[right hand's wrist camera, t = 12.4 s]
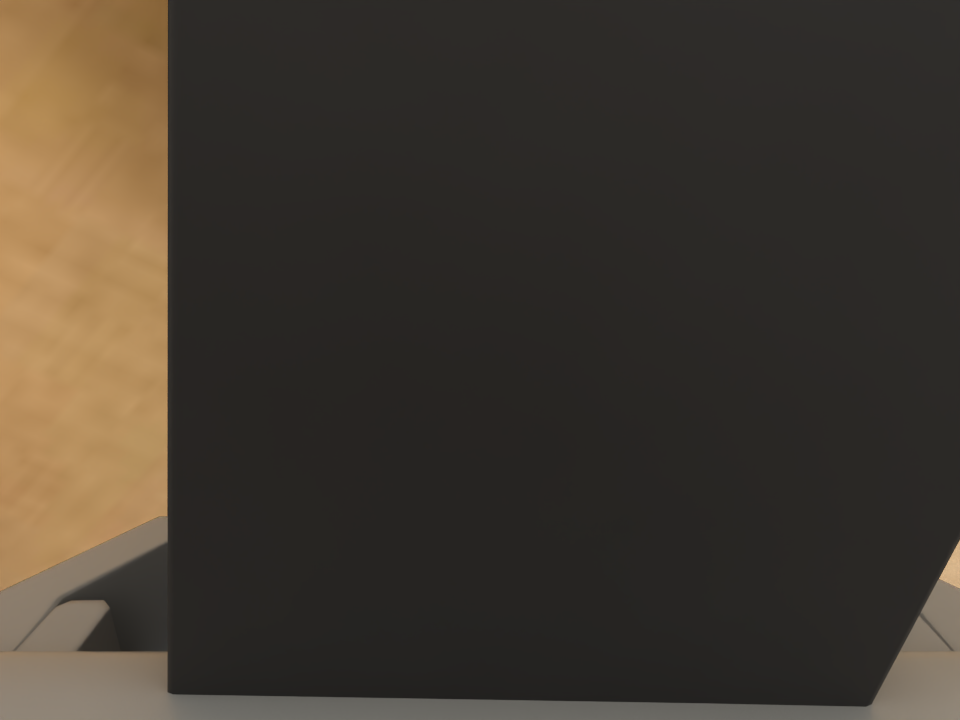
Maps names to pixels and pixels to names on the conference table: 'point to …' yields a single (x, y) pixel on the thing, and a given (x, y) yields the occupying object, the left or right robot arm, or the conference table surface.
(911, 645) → the right robot arm
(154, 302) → the conference table surface
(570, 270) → the bar
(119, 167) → the conference table surface
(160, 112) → the conference table surface
